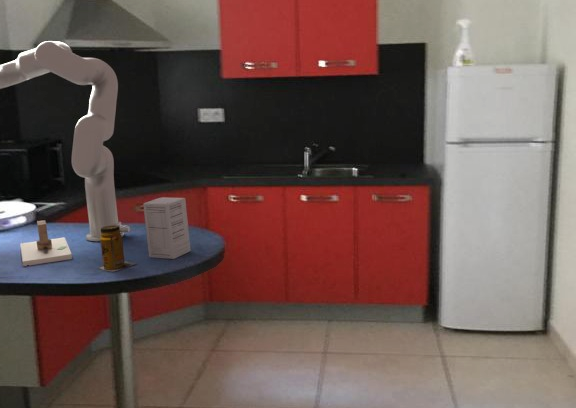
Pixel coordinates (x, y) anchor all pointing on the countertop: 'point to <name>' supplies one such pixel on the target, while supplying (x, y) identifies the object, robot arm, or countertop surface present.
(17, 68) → the robot arm
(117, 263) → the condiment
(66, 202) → the countertop surface
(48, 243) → the brown piece
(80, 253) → the countertop surface
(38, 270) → the countertop surface
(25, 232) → the countertop surface
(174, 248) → the supplement box
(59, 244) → the white rectangular slab
